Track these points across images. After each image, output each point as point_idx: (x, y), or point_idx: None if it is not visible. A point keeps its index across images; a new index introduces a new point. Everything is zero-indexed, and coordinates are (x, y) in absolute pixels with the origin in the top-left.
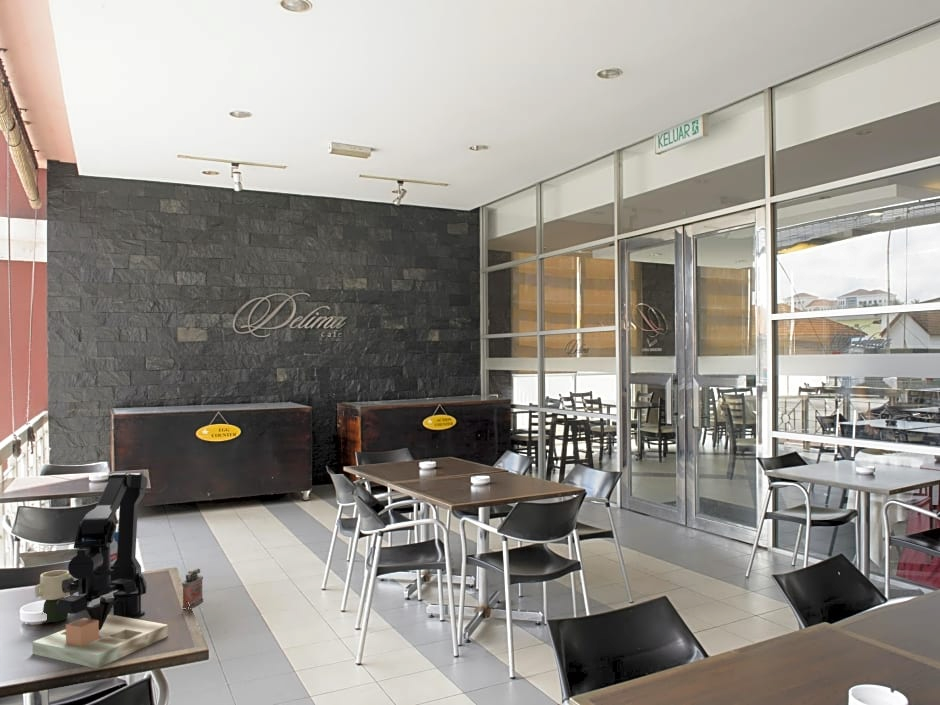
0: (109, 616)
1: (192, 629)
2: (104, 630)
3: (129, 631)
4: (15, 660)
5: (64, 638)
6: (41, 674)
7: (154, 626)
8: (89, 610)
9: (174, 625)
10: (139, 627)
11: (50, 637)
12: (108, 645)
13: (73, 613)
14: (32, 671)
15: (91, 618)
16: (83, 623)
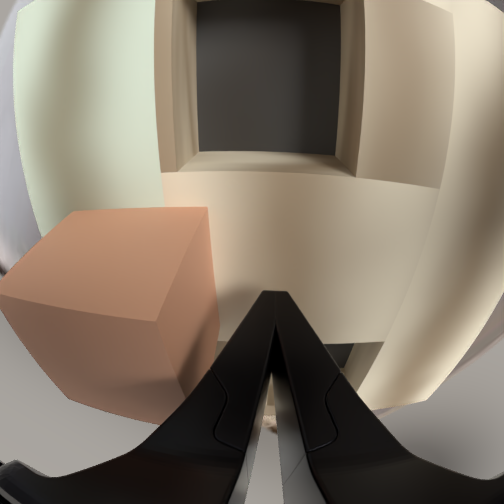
0: None
1: (457, 372)
2: (355, 255)
3: (373, 354)
4: (11, 42)
5: (106, 111)
6: (18, 254)
7: (414, 389)
8: (167, 463)
9: (498, 319)
10: (408, 365)
11: (82, 8)
12: None
13: (2, 463)
14: (4, 207)
15: (212, 373)
16: (94, 390)
